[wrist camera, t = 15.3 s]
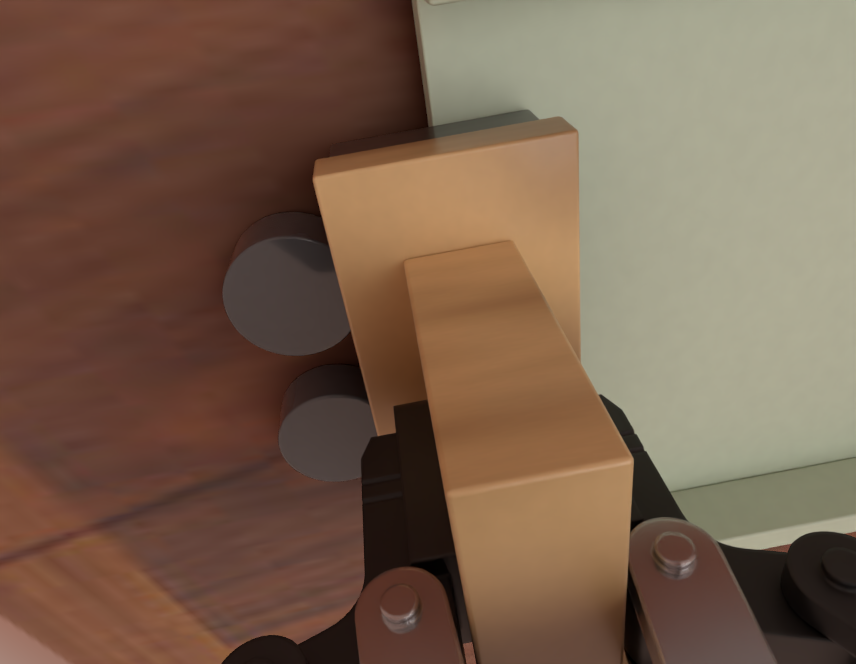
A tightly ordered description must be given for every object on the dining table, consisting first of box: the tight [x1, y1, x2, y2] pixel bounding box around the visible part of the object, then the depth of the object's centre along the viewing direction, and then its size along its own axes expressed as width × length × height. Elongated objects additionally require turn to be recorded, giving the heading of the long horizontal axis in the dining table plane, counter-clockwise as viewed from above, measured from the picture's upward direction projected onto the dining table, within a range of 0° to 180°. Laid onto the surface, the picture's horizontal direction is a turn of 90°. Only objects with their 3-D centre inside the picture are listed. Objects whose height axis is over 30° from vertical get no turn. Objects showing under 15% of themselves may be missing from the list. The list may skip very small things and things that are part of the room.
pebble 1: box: [222, 212, 351, 356], centre depth 14 cm, size 3×3×1 cm
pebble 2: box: [278, 364, 378, 482], centre depth 17 cm, size 3×3×1 cm
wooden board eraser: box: [312, 109, 634, 664], centre depth 12 cm, size 10×4×8 cm, turn 8°
